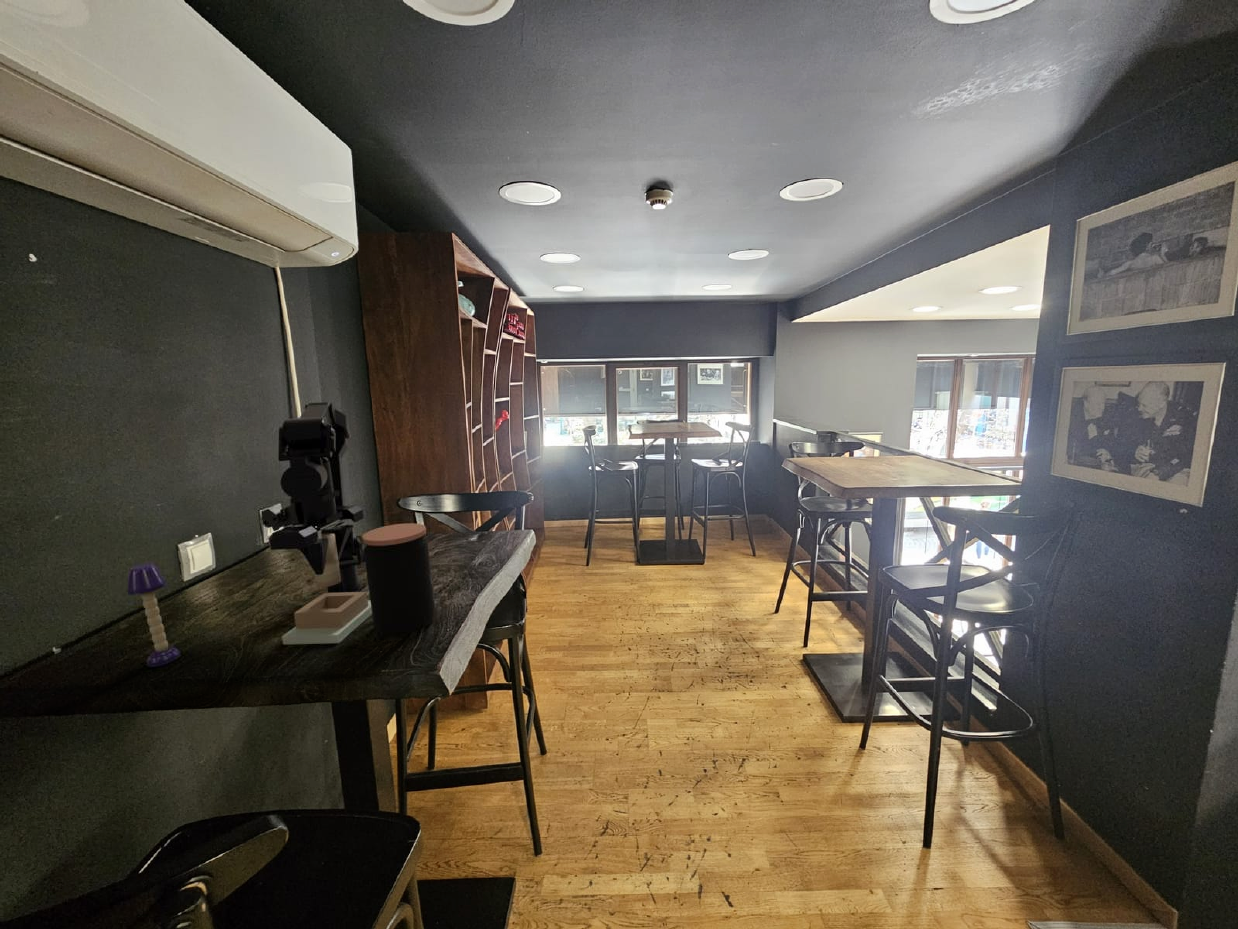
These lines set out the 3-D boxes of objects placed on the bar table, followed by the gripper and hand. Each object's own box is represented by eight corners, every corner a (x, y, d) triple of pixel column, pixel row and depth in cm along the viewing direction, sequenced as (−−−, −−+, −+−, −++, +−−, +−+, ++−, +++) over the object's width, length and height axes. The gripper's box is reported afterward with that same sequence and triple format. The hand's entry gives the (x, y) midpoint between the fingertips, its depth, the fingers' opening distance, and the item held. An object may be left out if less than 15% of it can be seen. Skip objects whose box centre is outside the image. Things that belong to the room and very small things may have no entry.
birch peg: (325, 578, 94) (318, 533, 92) (345, 578, 93) (339, 533, 92) (311, 587, 90) (304, 540, 88) (332, 587, 89) (326, 539, 88)
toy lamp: (136, 670, 80) (114, 573, 77) (154, 655, 84) (134, 563, 82) (172, 664, 81) (151, 568, 78) (187, 650, 86) (169, 559, 83)
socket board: (331, 608, 100) (328, 587, 99) (379, 607, 99) (377, 586, 99) (283, 644, 86) (279, 620, 85) (338, 643, 86) (335, 619, 85)
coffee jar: (448, 617, 94) (438, 526, 91) (398, 644, 84) (386, 544, 82) (412, 606, 99) (401, 520, 96) (362, 630, 90) (348, 536, 87)
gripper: (305, 479, 98) (316, 554, 101) (229, 502, 80) (245, 592, 82) (359, 477, 98) (369, 552, 100) (296, 500, 79) (310, 590, 82)
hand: (327, 570), depth 91 cm, fingers closed on birch peg, 4 cm apart
